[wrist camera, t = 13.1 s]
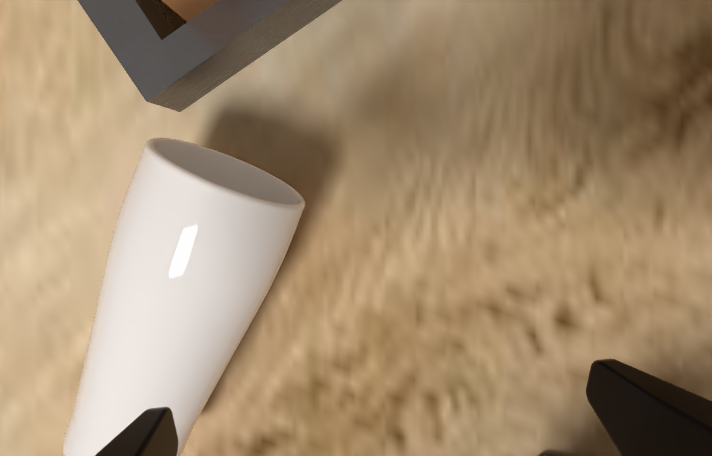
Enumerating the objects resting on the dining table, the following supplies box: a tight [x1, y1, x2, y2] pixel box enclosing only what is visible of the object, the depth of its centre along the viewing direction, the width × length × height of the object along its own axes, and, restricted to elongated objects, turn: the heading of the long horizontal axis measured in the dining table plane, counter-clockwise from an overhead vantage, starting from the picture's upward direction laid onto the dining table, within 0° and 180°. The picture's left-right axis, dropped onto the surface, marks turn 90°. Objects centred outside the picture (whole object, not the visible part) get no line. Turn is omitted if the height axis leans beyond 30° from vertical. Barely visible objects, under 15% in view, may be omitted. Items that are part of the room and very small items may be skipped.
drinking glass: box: [63, 138, 305, 456], centre depth 18 cm, size 7×7×15 cm
